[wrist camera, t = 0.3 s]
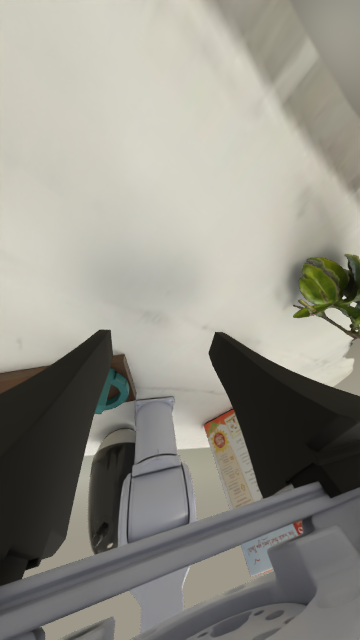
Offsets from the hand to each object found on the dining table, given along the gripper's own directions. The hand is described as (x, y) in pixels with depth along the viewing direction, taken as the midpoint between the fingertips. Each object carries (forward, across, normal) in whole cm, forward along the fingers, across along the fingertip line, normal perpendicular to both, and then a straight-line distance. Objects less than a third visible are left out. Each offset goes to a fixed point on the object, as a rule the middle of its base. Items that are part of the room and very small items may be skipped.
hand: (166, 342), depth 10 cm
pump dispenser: (+10, +6, +35) cm, 37 cm away
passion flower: (+10, -25, -3) cm, 27 cm away
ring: (+8, +8, +16) cm, 19 cm away
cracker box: (+10, -22, +34) cm, 42 cm away
